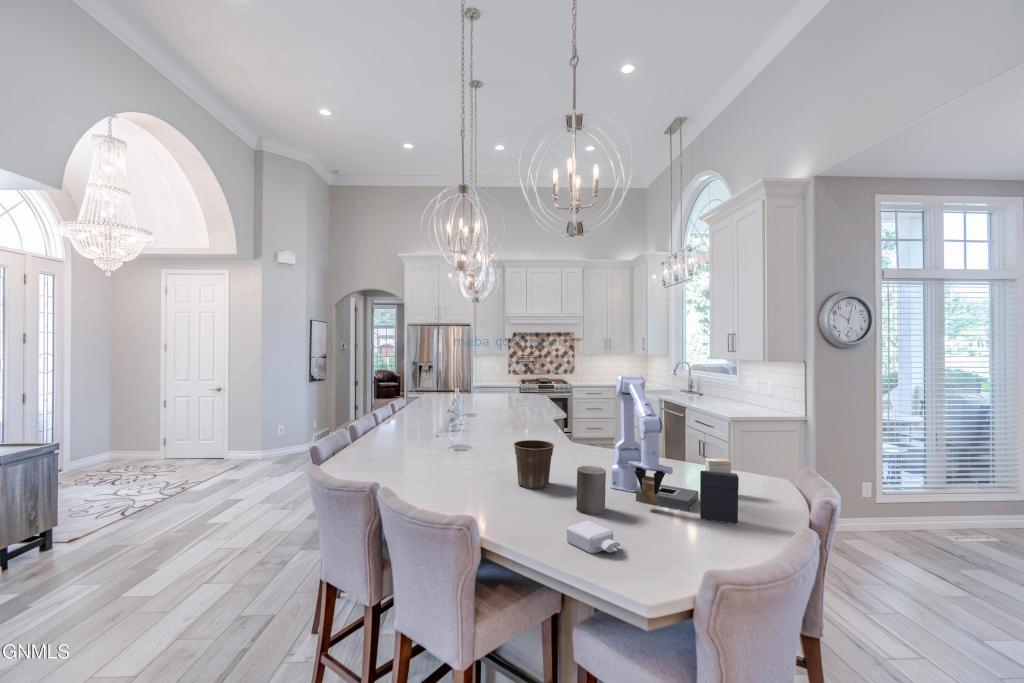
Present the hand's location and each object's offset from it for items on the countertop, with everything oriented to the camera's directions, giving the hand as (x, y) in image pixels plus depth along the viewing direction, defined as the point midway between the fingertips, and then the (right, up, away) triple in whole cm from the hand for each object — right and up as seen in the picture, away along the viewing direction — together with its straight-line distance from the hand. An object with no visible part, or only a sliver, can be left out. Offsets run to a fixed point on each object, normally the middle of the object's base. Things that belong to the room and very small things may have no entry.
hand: (649, 491), depth 161 cm
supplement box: (+31, -7, +18) cm, 37 cm away
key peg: (0, -3, 0) cm, 3 cm away
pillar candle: (-20, -6, -1) cm, 21 cm away
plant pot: (-38, -6, +27) cm, 47 cm away
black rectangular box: (+19, -6, -9) cm, 22 cm away
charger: (-23, -6, -31) cm, 39 cm away
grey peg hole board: (+9, -6, +9) cm, 14 cm away
